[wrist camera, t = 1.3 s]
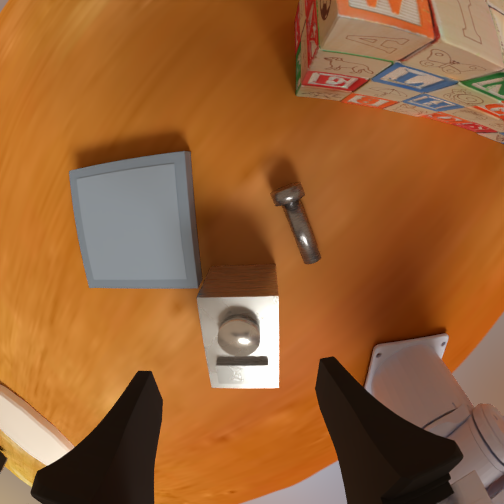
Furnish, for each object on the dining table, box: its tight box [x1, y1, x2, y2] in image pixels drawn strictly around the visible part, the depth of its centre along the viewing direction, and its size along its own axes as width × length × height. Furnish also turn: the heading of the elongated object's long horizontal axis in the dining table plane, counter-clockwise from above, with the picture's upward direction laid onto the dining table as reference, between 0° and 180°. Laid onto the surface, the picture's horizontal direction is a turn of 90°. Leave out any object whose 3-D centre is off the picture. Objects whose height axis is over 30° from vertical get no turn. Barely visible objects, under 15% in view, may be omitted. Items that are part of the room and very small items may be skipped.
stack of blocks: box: [295, 0, 504, 144], centre depth 10 cm, size 21×6×12 cm, turn 89°
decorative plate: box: [0, 384, 74, 466], centre depth 31 cm, size 25×4×25 cm
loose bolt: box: [270, 182, 321, 264], centre depth 18 cm, size 5×2×2 cm, turn 23°
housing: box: [197, 264, 279, 388], centre depth 19 cm, size 7×4×6 cm, turn 3°
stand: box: [69, 151, 202, 288], centre depth 19 cm, size 9×9×2 cm
